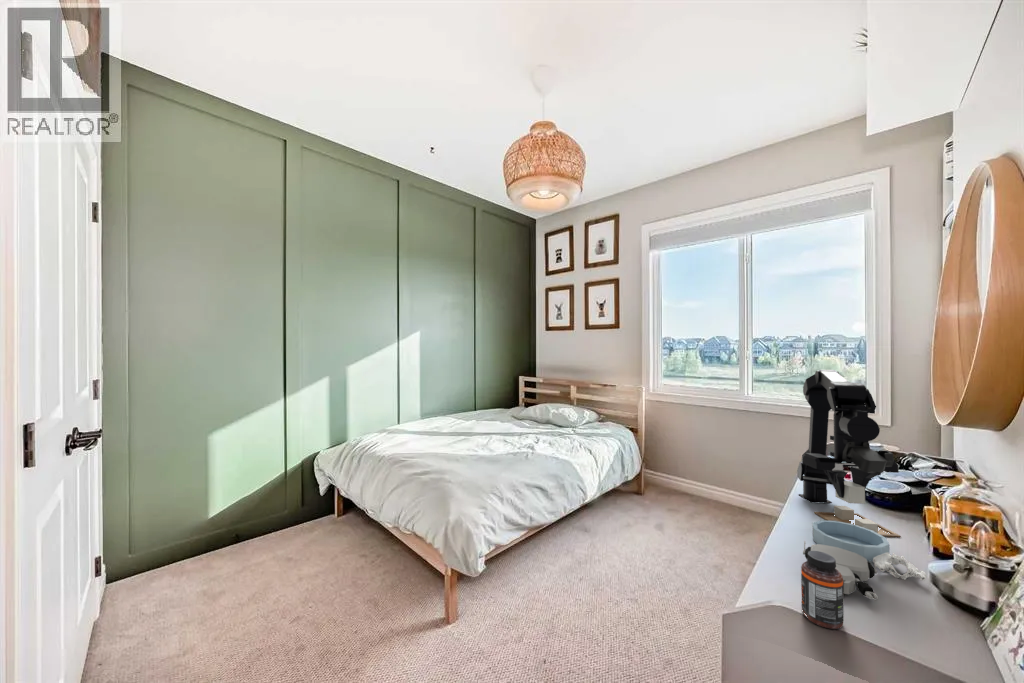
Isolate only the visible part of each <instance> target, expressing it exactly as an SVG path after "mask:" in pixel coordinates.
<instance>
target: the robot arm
mask: <svg viewBox="0 0 1024 683" xmlns="http://www.w3.org/2000/svg"><path fill="white" fill-rule="evenodd" d="M802 389H803V390H802V393H803V396H804V399H805V400H806V402H807V403H808V405H809V406H810V416H809V434H808V449H807V450H806V451H805V452H804V453H803V454H802V455H801V461H799V464H798V466H797V470H796V471H797V472H796V474H797V475H796V476H797V479H799V480H800V482H802V483H803V488H802V491H803V493H799V494H798V496H799V497H801V498H803V499H804V500H806V501H808V502H809V501H810V502H809V503H812V502H824V503H823V504H833V502H832V501H831V500H829V499H828V488H827V487H828V485H830V486H831V485H832V486H833V488H834V490H836V492H837V494H838V496H839V497H841V498H844V481H845V478H846V476H847V474H848V471H845V470H844V467H850V472H851V479H852V482H853V483H856V484H858V485H861V486H863V487H865V489H866V488H867V486H868V484H869V482H870V481H871V480H872V479H873V478H874V477H877V476H881V475H882V474H883V473H884V472H885V473H892V474H893V473H898V474H899V471H900V470H899V464H898V463H897V461H896V460H895V459H894V453H893V452H892V451H889V450H886V449H885V450H883V449H882V450H879V451H878V450H873V449H872V448H871V446H870V443H869V442H871V441H873V440H876V438H878V437H879V435H880V429H881V427H880V426H879V425H878V423H877V421H876V420H874V418H871V417H869V414H876V408H877V405H876V403H875V400H874V398H873V395H872V393H871V392H870V390H869V389H868V388H867V387H866V385H865V384H863V383H860V382H851V381H848V380H847V379H845V378H844V376H842V375H841V374H840V371H838V370H835V369H818V370H817V369H816V371H815V373H814V374H813V375H810V376H809V377H807V378H806V379H805V380H804V383H803V386H802ZM830 411H832V412H833V435H829V440H830V441H833V451H829V453H830V454H829V455H830V456H828V455H827V447H828V446H827V444H828V429H829V418H830V417H829V416H830V415H829V414H830ZM836 492H835V493H836Z"/></svg>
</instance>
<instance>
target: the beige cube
mask: <svg viewBox="0 0 1024 683" xmlns="http://www.w3.org/2000/svg"><path fill="white" fill-rule="evenodd" d="M834 490H835V489H834ZM865 492H866V488H865V487H863V486H861V485H858V484H856V483H853V481H851V480H844V498H841V497H839V496H838V494H837V492H836V490H835V498H837V499H839V500H841V501H844V502H846V503H848V504H862V505H863V504H864V505H865V504H866V493H865Z"/></svg>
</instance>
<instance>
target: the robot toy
mask: <svg viewBox="0 0 1024 683" xmlns="http://www.w3.org/2000/svg"><path fill="white" fill-rule="evenodd" d="M806 544H807V543H806V540H804V541H803V550H802V555H804V557H805V559H806V561H807V560H808V559H807V557H808V552H809V551H820V552H824V553H827V554H829V555H831V556H832V557H834V558H835V560H836V569H837V570H838V571H839V572H840V573H841V575H842V577H843V595H851V594H853V593H854V592H855V591H856V587H857V590H858V592H860V594H862V596H864V597H866V598H868V599H870V600H873V599H874V600H878V599H879V597H878V595H877V593H875V592H874V589H873V587H872V586H871V585H870V584H869V583H868V580H870V579H873V578H874V577H875V575H877V574H878V570H877V567H876V565H875V559H873V561H874V563H873V564H872V563H871V561H867V559H866V558H864V557H863V556H861V555H859V554H856V553H854V552H851V551H848V550H845V549H841V548H838V547H833V546H828V545H821V544H817V543H815V544H814V543H813V544H811V546H808V547H806ZM873 561H872V562H873ZM850 593H851V594H850Z"/></svg>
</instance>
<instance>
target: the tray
mask: <svg viewBox="0 0 1024 683" xmlns="http://www.w3.org/2000/svg"><path fill="white" fill-rule="evenodd" d="M813 514H815V515H816V516H818V517H820V518H822V519H823V520H827V521H839V522H844V523H849V524H851V521H849V520H842V519H840V518H838V517H837V516H834V511H833V512H830V511H828V512H826V511H813ZM854 515H857V516H859V517H861V518H862V519H868V518H867V517H865V516H864V515H861V514H860V513H857V512H856V513H855V512H854ZM875 523H876V524H878V527H879V528H881V529H880V530H879V531H878V534H880V535H882V536H883V537H885V538H895V537H897V538H898V537H901V538H902V536H901V535H900V534H898V533H896V532H894V531H892V530H890V529H888V528H887V527H884V526H883V525H880V524H879V523H877V522H875ZM853 524H854V523H853ZM883 531H884V532H883ZM885 532H886V533H885ZM888 532H889V533H890V534H889V533H888ZM887 533H888V534H887ZM897 538H896V539H897Z"/></svg>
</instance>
